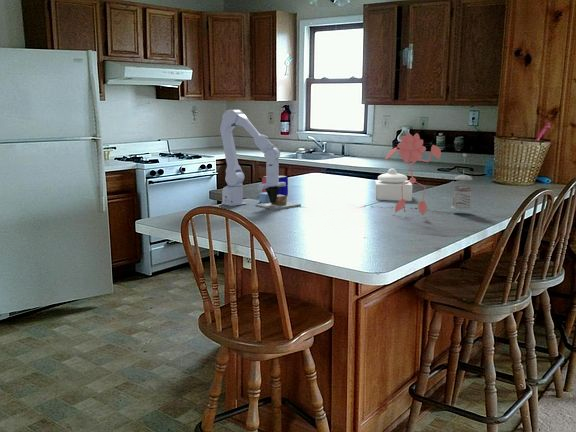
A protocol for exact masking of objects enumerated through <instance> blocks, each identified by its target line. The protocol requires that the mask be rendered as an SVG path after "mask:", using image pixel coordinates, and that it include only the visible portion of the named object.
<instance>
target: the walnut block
mask: <svg viewBox="0 0 576 432" xmlns="http://www.w3.org/2000/svg"><path fill="white" fill-rule="evenodd" d="M287 197H288V195H277V197H276V201H275V203H272V204H274V205H285V204H287V202H288V200H287Z"/></svg>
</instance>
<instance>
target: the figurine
mask: <svg viewBox="0 0 576 432" xmlns="http://www.w3.org/2000/svg"><path fill="white" fill-rule="evenodd" d="M400 140H401V141H400V142H398V144H397V146H395V147H393V148H392V149H391V150H389V152H388V153H387V154H386V156H385V158H384V160H388V159H389V158H391V157H392V156H393V155H394V154H395V153H396V152H398V155H399V156H400V157H401V159H402V160H403V162H404V163H409V162H411V163H410V164H409V170H410V171H409V172H410V175H411V177H410V178H409V181H408V182H410V183H411V184H412V185H413V184H415V183H416V184H418V185H420V186H422V187H423V188H424V190H423V196H422V199H421V200H420V201H419V202H418V205H417V209H418V212H419V213H420V214H421V215H422V216H424V215H425V214H426V212H427V209H428V206H427V204H426V201H424V199H425V194H426V186H425V185H423V184H421V183H420V182H419V183H418V182H417V179H416V177H413V171H412V167H411V166H412V165H414V163H417V162H418V161H420V162H426V163H429V162H430V160H431V157H432V155H433V157H435V158H437V159H438V160H440V159H441V156H442V152H441V148H440V147H438V145H435V144H432V146H431V147H430V153H429V157H428V159H427V160H425V159H422V158H423V154H422V153H425V152H426V150H427V148H426V146H424V139H421V137H420V134H419V133H415V134H414V135H412V134H411V133H409V132H407V133H406V135H402V136H401V137H400ZM408 182H406V183H408ZM406 183H404V184H406ZM404 184H402V185H404ZM405 205H406V201H405V199H403V189H402V199H401V200H400V201H399V200H397V203H396V204H395V207H394V209H391V210H394V213H395V214H396V213H398V212H400V211H401V210H402V209H403V212H404V213H405V212H406V208H405ZM392 216H393V217H395V215H394V214H392ZM397 217H398V218H401V216H399V215H397ZM406 218H409V219H413V217H410V216H408V217H407V216H405V219H406ZM424 218H425V219H426V218H427V217H424Z"/></svg>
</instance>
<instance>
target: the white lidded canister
mask: <svg viewBox="0 0 576 432" xmlns="http://www.w3.org/2000/svg"><path fill="white" fill-rule="evenodd" d="M397 171H398V170H397V169H396V168H393V167H391V168H389V169H388V170H387V172H386V173H382V174H380V175H378V176H377V179H375V180H374V195H375V199H376V200H379V201H381V200H382V201H400V200H401V199H402V189H403V199H405V202H412V201H413V184H412V183H410V182H408V181H410V179H409V178H408V176H407V175H405V174H402V173H398V172H397ZM408 179H409V180H408ZM406 182H408V183H406ZM404 183H406V184H404ZM402 184H404V185H402Z"/></svg>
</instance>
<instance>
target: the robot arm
mask: <svg viewBox="0 0 576 432" xmlns="http://www.w3.org/2000/svg"><path fill="white" fill-rule="evenodd" d="M237 126H240V127H243V129H245V130H246V132H248V134H249V135H250V136H251V137H252V138H253V139H254V144H255V146H256V147H257V148H258V149H259V150H260V151H261V152H262V153H263V156H264V159H265V160H266V163H265V165H266V167H265V169H266V170H265V172H266V173H265V174H266V175H265V176H266V183H265V184H262V183H259V184H258V188H259V190H262V189H264V188H265V190H266V192H267V194H268V196H269V199H270V203H275V201H276V197H277V194H278V192H279V190H280V188H278V187H281V186H286V182H279V176H280V175H279V173H280V171H279V169H280V168H279V167H280V165H279V158H280V157H281V151H280V149H279V147H276V146H275V144H273V143H272V142H271V141H270V140H269V136H268V135H265V134H261V133H260V132H259V131H258V130H257V128H256V127H255V126H254V124H253V123H252V122H251V121H250V119H249V118H248V117H247V115H246V114H245V113H244V112H243V111H242V110H241V109H227V110H226V111H225V112H224V113H223V114H222V119H221V124H220V127H219V131H220V137H221V140H222V142H221V143H222V147H223V151H224V157H225V162H226V169H225V178H224V179H225V182H226V184H227V185H226V186H224V187H223V188H222V191H221V196H222V197H221V199H222V202H221V205H226V206H229V207H232V206H235V207H236V206H240V205H247V204H248V202H244V191H243V190H244V188H243V187H244V185H243V182H244V181H245V173H244V172H243V170H242V167H241V166H240V164H239V161H238V155H237V151H236V144H235V139H234V133H233V130H234V129H235V128H236V127H237Z"/></svg>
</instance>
